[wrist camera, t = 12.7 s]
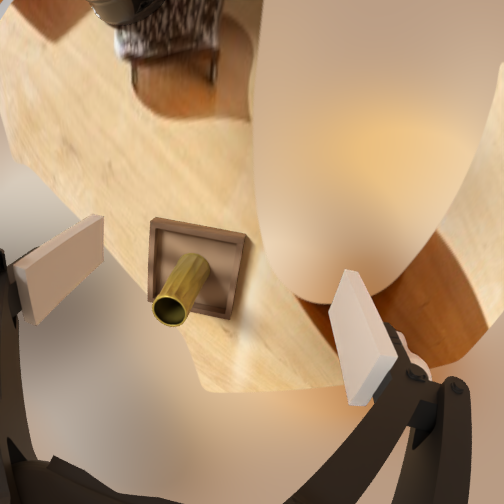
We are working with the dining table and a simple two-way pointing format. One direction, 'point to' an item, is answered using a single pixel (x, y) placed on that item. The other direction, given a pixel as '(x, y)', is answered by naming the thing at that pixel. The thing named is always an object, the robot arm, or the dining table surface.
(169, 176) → the dining table surface
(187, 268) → the vase
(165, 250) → the walnut tray
